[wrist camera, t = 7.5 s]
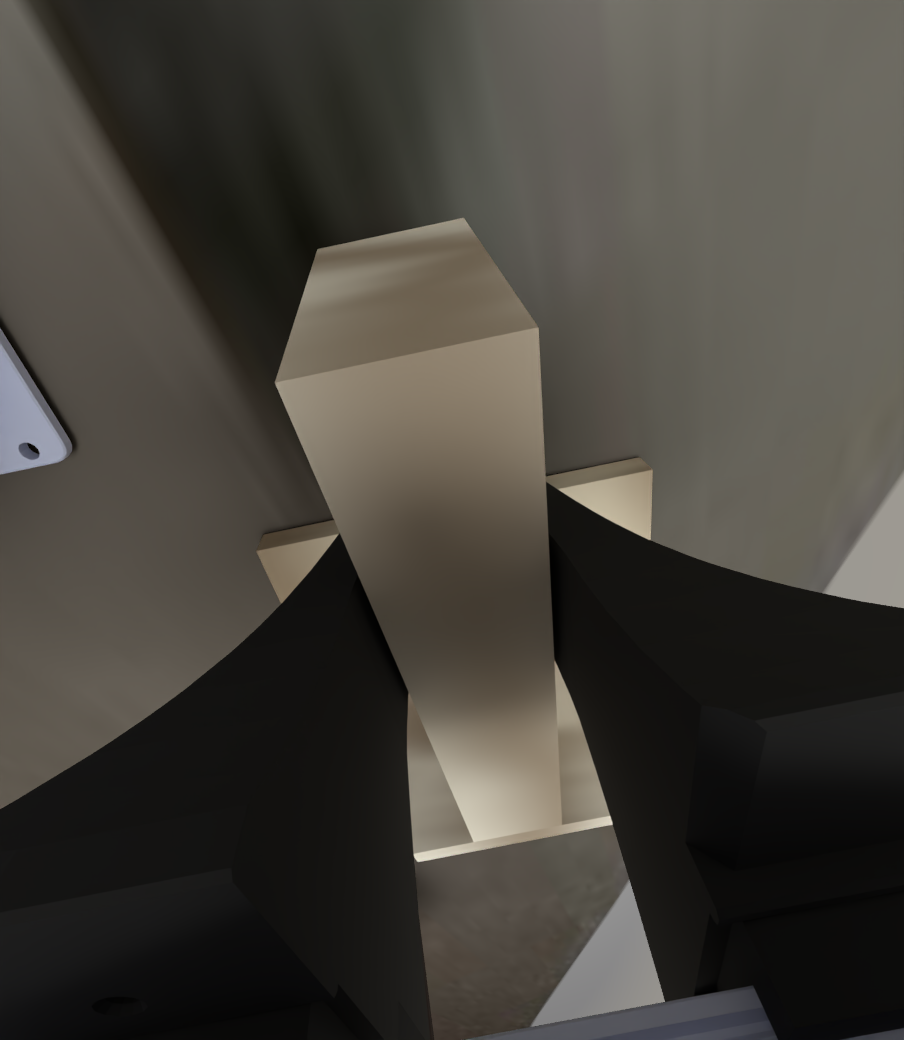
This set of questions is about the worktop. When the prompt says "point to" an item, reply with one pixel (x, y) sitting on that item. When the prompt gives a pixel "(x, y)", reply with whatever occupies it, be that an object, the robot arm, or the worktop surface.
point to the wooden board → (600, 488)
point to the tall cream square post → (446, 523)
